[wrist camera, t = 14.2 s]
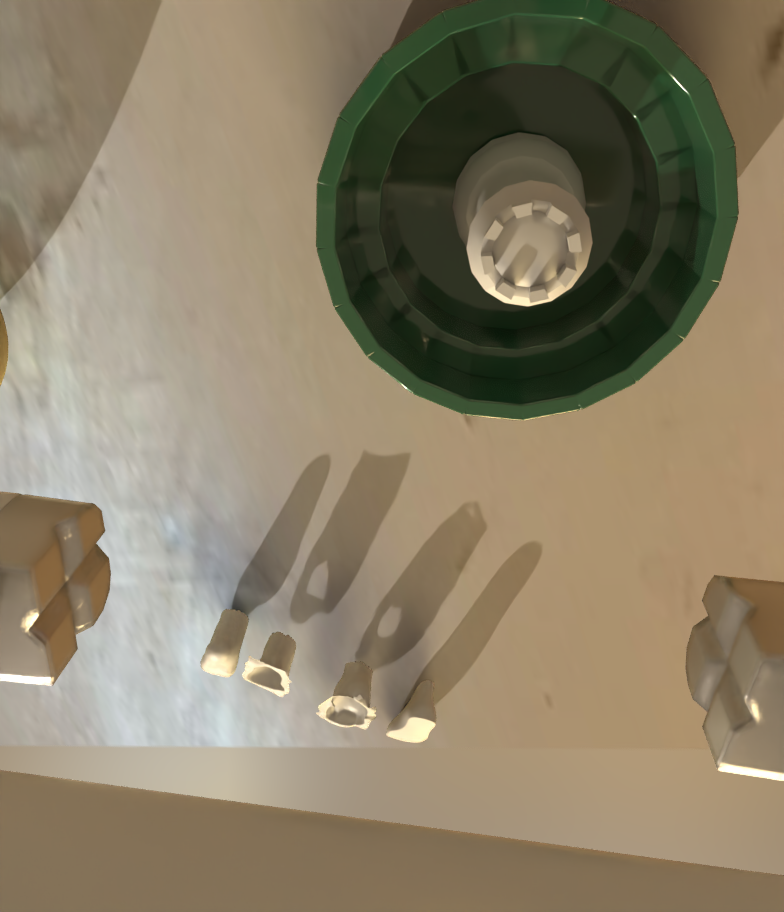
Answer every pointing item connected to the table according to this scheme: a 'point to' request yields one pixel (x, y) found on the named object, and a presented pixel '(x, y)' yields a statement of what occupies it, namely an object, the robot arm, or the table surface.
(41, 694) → the table surface
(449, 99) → the bowl
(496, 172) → the rook chess piece
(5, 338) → the potato
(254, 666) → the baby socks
